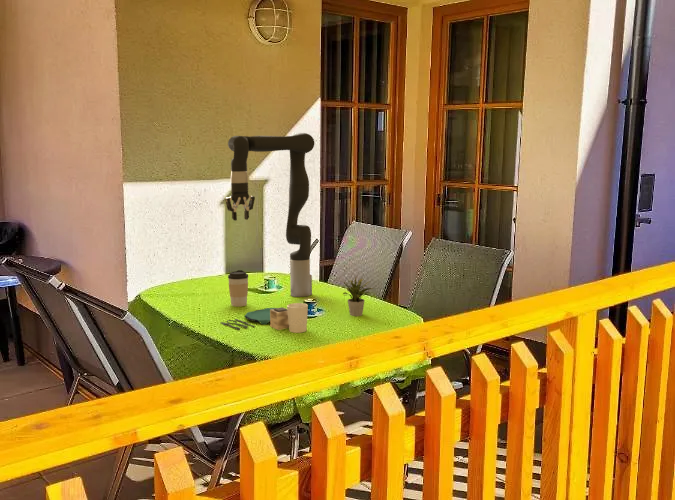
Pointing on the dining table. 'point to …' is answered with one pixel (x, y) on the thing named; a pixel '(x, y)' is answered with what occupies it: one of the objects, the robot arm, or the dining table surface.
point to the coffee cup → (238, 288)
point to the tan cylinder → (297, 317)
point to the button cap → (280, 309)
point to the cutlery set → (253, 318)
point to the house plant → (356, 298)
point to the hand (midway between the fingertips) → (240, 219)
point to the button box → (279, 319)
